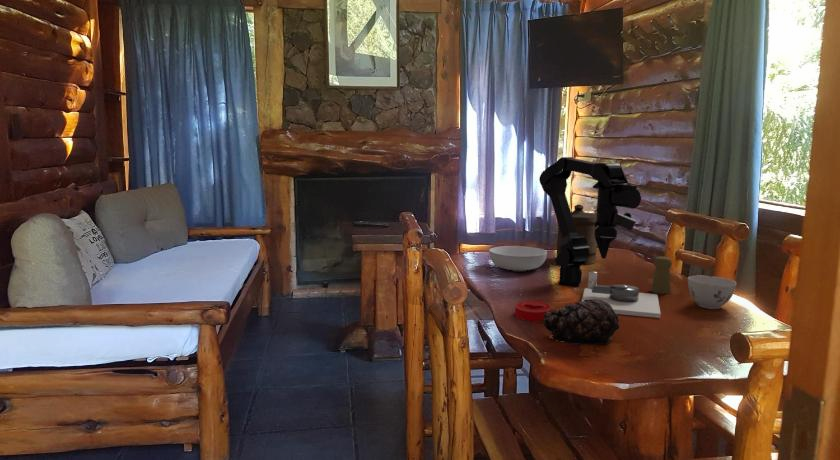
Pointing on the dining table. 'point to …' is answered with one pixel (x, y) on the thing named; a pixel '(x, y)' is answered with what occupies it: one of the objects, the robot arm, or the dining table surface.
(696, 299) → the teacup
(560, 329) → the pine cone
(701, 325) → the dining table surface
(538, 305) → the decorative ornament
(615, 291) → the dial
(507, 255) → the serving bowl
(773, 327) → the dining table surface
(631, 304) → the stand board
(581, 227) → the wooden container
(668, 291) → the cork
